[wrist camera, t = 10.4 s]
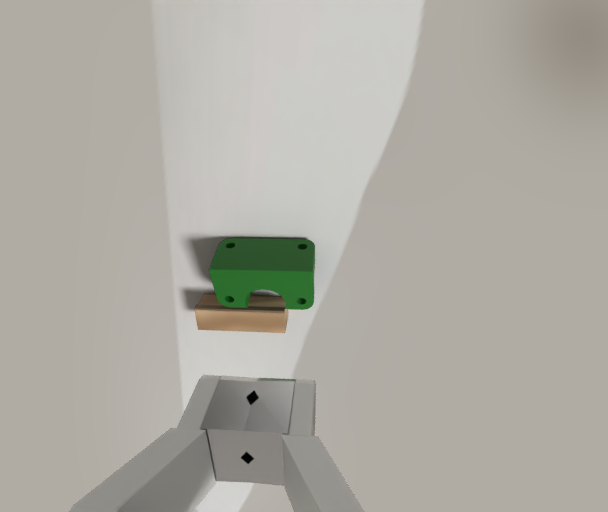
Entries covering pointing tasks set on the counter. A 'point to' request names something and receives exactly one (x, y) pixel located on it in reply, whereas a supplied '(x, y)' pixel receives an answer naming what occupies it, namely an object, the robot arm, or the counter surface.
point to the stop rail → (243, 315)
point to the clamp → (264, 270)
